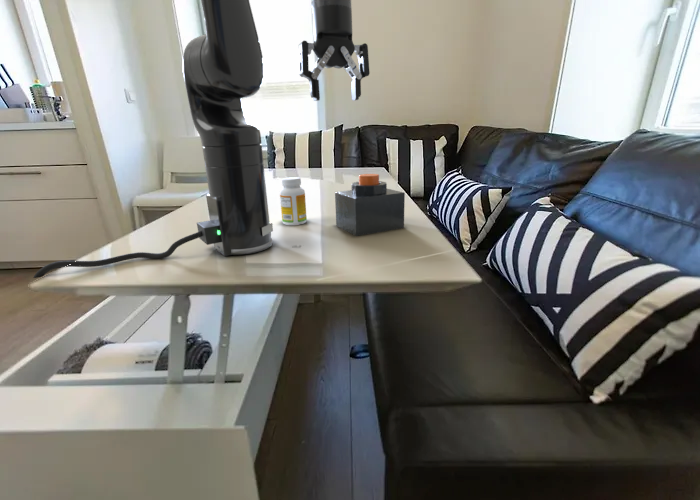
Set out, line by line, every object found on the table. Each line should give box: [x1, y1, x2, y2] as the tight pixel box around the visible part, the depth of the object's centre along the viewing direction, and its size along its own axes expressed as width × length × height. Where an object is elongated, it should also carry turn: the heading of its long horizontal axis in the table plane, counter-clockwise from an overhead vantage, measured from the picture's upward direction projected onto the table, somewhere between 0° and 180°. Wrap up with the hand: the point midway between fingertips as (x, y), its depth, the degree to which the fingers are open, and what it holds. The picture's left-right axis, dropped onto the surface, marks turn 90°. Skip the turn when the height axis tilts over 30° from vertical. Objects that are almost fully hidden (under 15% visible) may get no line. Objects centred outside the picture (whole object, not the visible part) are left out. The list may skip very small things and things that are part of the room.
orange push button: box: [358, 173, 380, 185], centre depth 71 cm, size 4×4×2 cm
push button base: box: [334, 180, 406, 237], centre depth 72 cm, size 11×9×9 cm
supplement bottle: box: [279, 176, 308, 226], centre depth 78 cm, size 5×5×10 cm
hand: (336, 100), depth 74 cm, fingers open, 8 cm apart
